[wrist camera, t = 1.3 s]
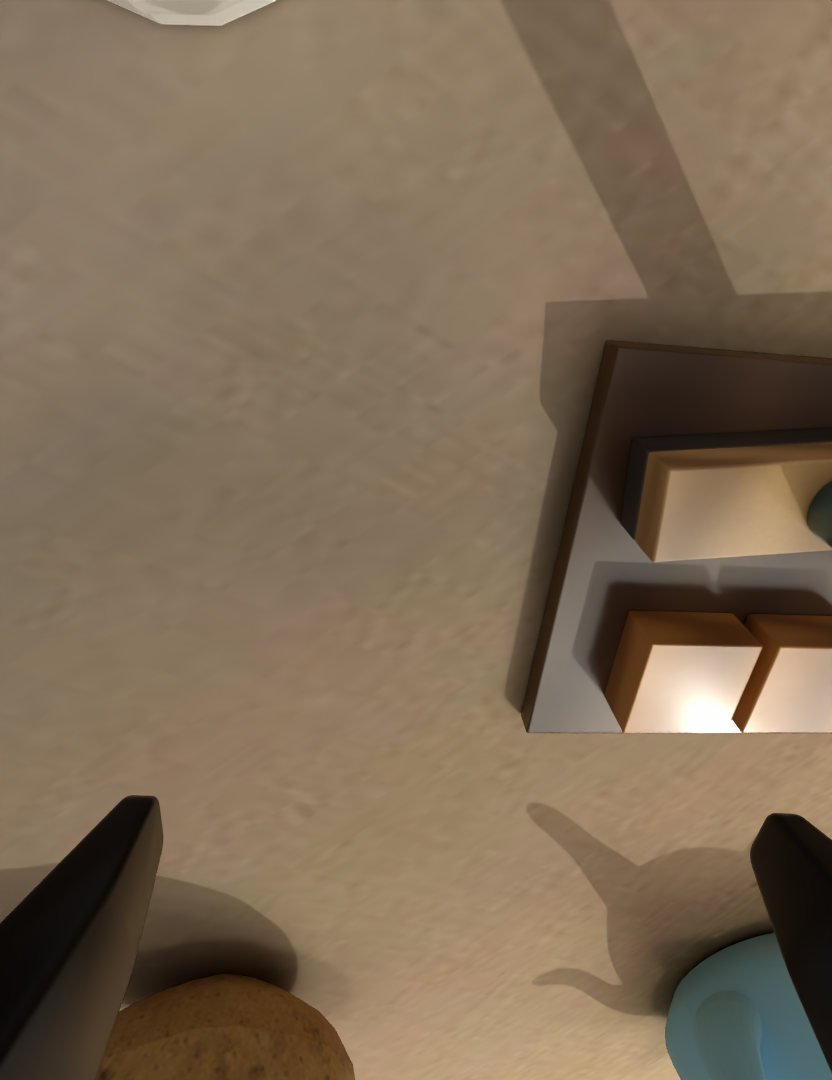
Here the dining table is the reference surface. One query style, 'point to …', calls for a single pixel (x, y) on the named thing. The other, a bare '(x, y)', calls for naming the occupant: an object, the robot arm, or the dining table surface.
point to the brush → (730, 494)
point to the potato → (224, 1035)
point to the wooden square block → (788, 676)
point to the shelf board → (615, 558)
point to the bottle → (192, 10)
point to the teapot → (742, 1019)
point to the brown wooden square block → (680, 671)
